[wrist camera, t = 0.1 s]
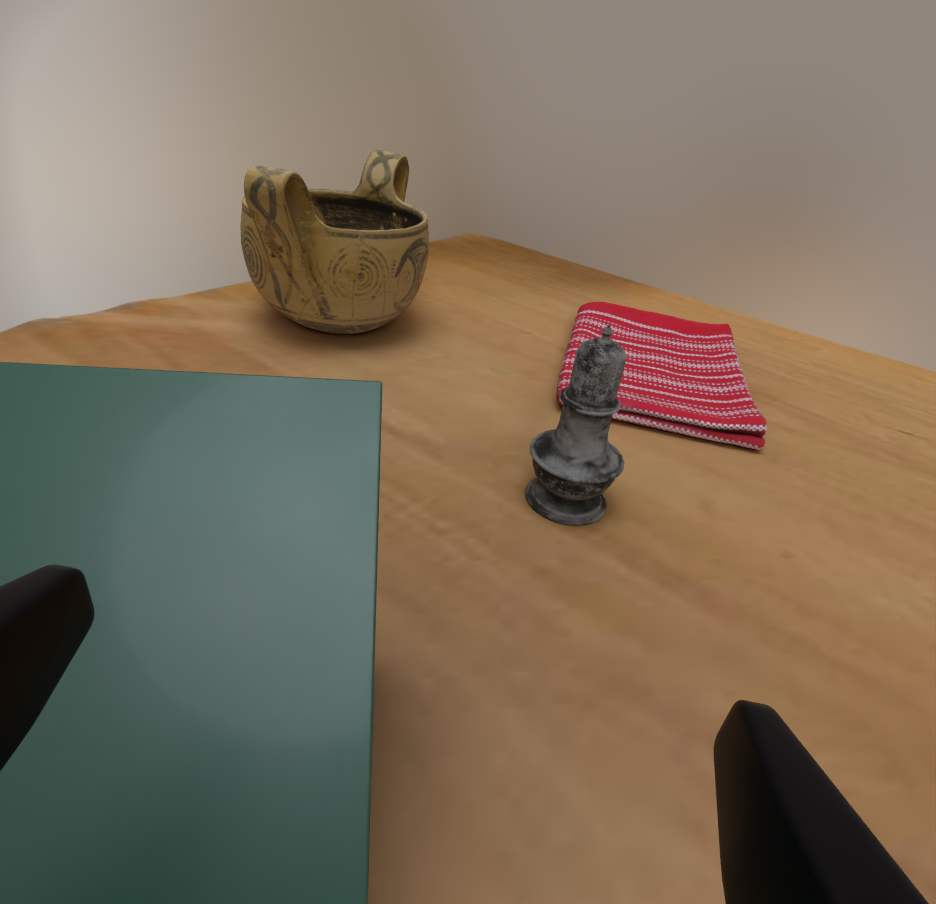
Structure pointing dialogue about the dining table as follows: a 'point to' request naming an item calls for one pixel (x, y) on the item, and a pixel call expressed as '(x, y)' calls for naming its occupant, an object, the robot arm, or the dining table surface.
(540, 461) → the dark grey tall piece
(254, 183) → the ceramic bowl
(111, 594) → the lid
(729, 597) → the dining table surface
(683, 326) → the dish towel
